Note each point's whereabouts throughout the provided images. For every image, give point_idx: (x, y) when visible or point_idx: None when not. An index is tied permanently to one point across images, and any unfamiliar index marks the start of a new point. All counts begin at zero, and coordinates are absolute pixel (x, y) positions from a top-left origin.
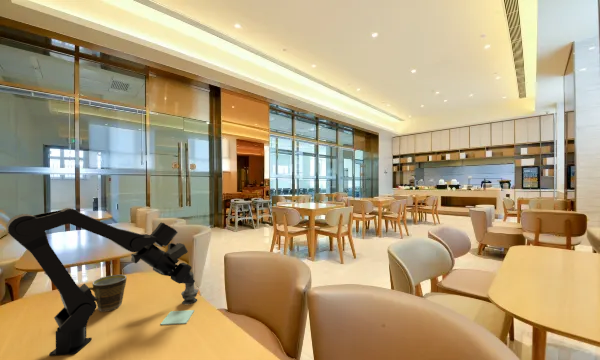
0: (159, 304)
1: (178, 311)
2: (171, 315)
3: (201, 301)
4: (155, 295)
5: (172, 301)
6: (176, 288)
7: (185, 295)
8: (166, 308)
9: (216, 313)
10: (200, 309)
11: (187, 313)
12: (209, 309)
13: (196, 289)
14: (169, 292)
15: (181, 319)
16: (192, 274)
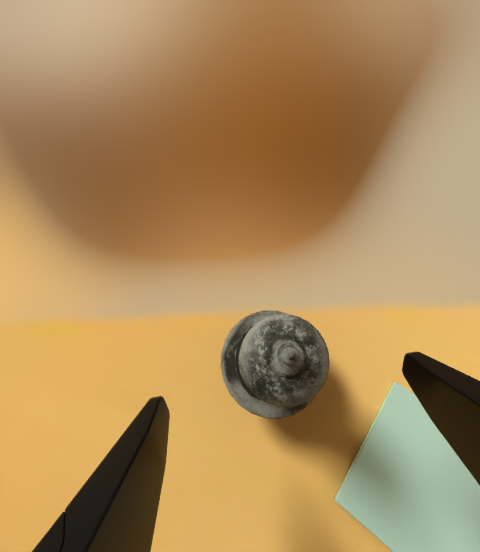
0: (183, 522)
1: (365, 461)
2: (394, 517)
3: (305, 315)
4: (38, 500)
5: (200, 438)
6: (53, 361)
7: (307, 402)
8: (267, 502)
9: (475, 307)
10: (392, 350)
11: (418, 427)
12: (416, 317)
13: (261, 313)
14: (70, 411)
15: (475, 482)
16: (320, 335)
